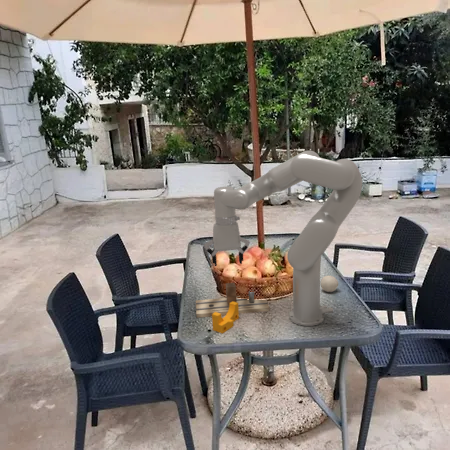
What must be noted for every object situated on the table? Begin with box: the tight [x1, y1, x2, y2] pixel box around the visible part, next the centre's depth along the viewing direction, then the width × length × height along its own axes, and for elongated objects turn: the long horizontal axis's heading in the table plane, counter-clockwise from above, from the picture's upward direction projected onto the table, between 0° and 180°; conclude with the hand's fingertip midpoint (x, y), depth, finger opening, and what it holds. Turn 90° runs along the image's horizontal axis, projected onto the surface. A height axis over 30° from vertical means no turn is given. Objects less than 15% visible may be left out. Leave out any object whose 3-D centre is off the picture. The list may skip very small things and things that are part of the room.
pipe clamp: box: [211, 301, 240, 335], centre depth 148 cm, size 12×4×6 cm, turn 142°
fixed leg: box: [248, 290, 255, 303], centre depth 162 cm, size 2×2×4 cm
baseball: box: [320, 275, 339, 293], centre depth 171 cm, size 7×7×7 cm
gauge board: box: [195, 297, 271, 319], centre depth 162 cm, size 28×12×2 cm, turn 95°
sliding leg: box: [225, 282, 237, 304], centre depth 160 cm, size 4×4×8 cm
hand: (228, 263), depth 157 cm, fingers open, 9 cm apart
